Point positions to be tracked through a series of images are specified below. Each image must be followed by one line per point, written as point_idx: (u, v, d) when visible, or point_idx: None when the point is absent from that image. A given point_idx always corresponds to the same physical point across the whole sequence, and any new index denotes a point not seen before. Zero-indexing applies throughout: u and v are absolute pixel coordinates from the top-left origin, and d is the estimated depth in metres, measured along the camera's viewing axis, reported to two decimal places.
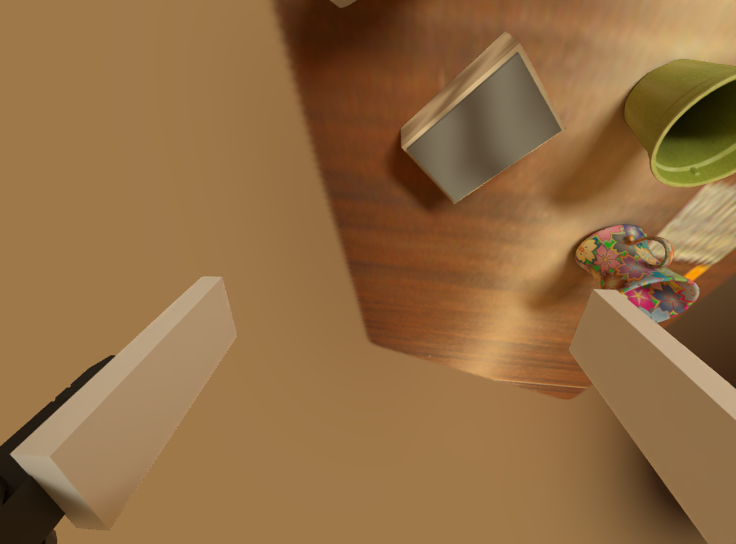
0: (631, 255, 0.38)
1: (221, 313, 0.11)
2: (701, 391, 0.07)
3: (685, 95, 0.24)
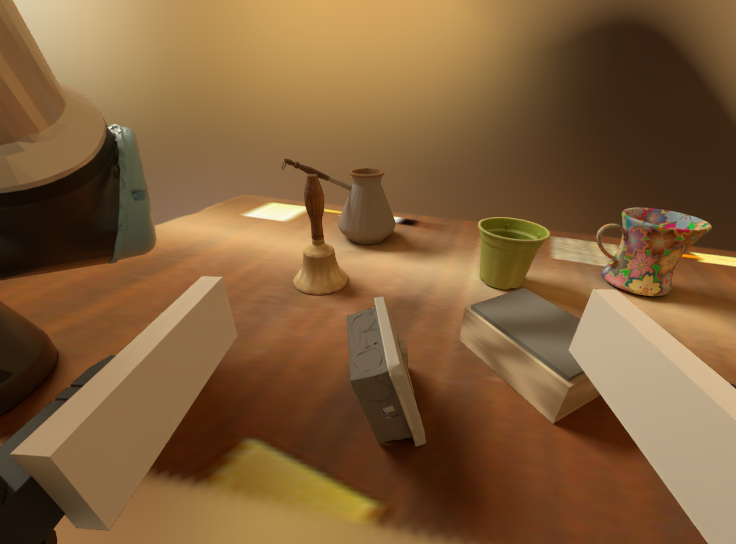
0: (625, 252, 0.45)
1: (221, 313, 0.11)
2: (701, 391, 0.07)
3: (494, 245, 0.43)
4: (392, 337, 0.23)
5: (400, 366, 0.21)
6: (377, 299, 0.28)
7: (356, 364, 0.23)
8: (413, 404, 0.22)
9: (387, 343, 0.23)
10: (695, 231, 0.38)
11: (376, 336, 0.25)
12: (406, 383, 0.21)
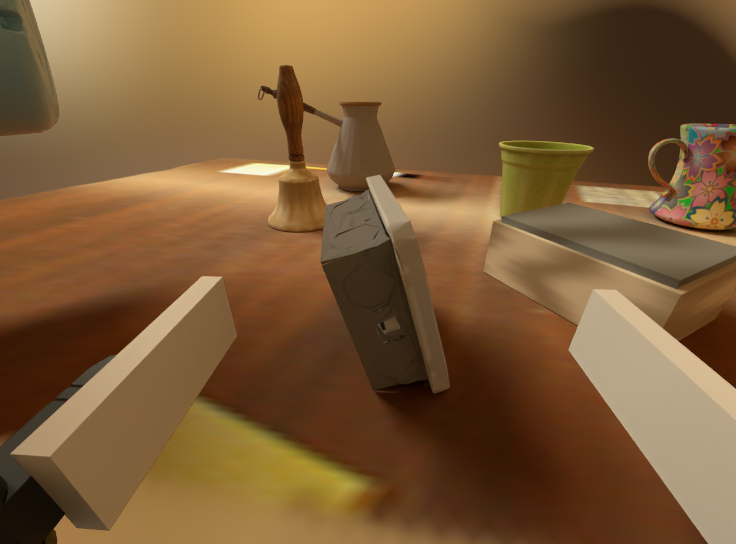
0: (685, 176, 0.35)
1: (221, 313, 0.11)
2: (701, 391, 0.07)
3: (522, 164, 0.33)
4: (395, 200, 0.14)
5: (411, 226, 0.11)
6: (371, 177, 0.18)
7: (333, 243, 0.13)
8: (432, 309, 0.13)
9: (387, 206, 0.13)
10: None
11: (368, 213, 0.15)
12: (422, 262, 0.12)
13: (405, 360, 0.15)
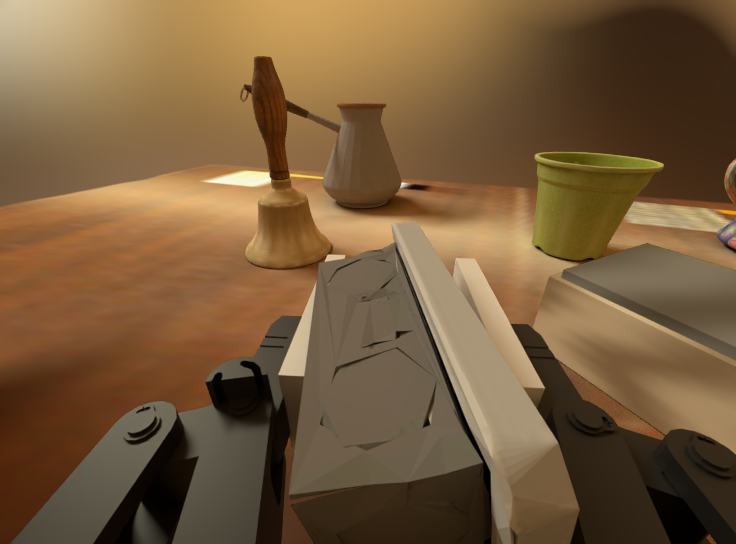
0: None
1: None
2: (483, 324, 0.09)
3: (569, 184, 0.26)
4: (472, 314, 0.06)
5: (558, 456, 0.04)
6: (401, 225, 0.11)
7: (326, 406, 0.06)
8: None
9: (459, 334, 0.06)
10: None
11: (402, 312, 0.08)
12: None
13: None
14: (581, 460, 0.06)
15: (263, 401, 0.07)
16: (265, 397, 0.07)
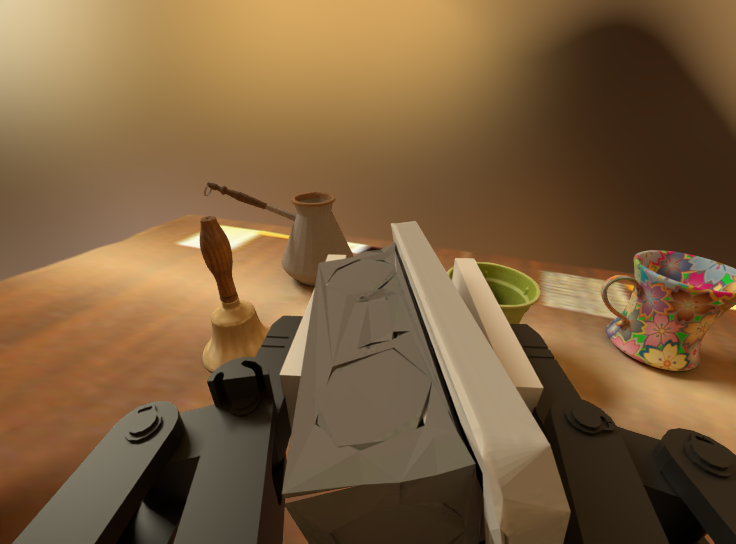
0: (639, 311, 0.34)
1: None
2: (482, 324, 0.09)
3: None
4: (468, 315, 0.06)
5: (550, 458, 0.04)
6: (401, 225, 0.11)
7: (321, 406, 0.06)
8: None
9: (454, 334, 0.06)
10: None
11: (399, 313, 0.08)
12: None
13: None
14: (579, 460, 0.06)
15: (265, 401, 0.07)
16: (267, 397, 0.07)
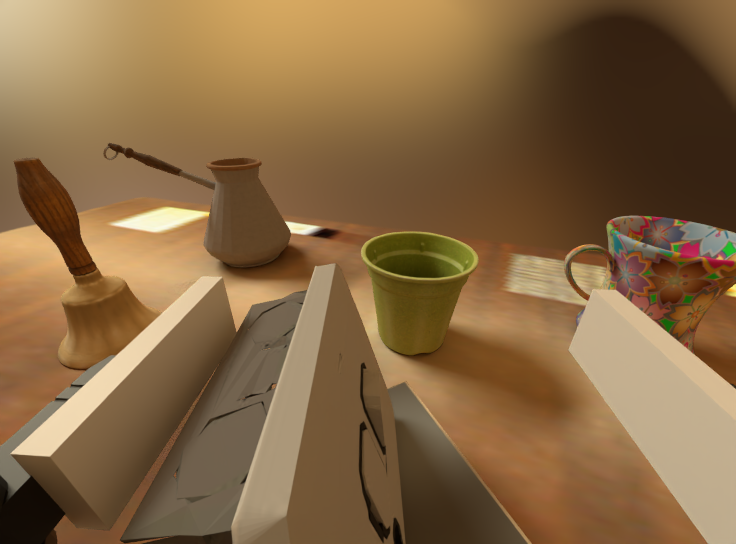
0: None
1: (221, 313, 0.11)
2: (701, 391, 0.07)
3: (380, 285, 0.24)
4: (311, 376, 0.07)
5: (292, 525, 0.05)
6: (319, 269, 0.12)
7: (183, 459, 0.07)
8: None
9: (285, 398, 0.06)
10: None
11: None
12: None
13: None
14: None
15: None
16: None
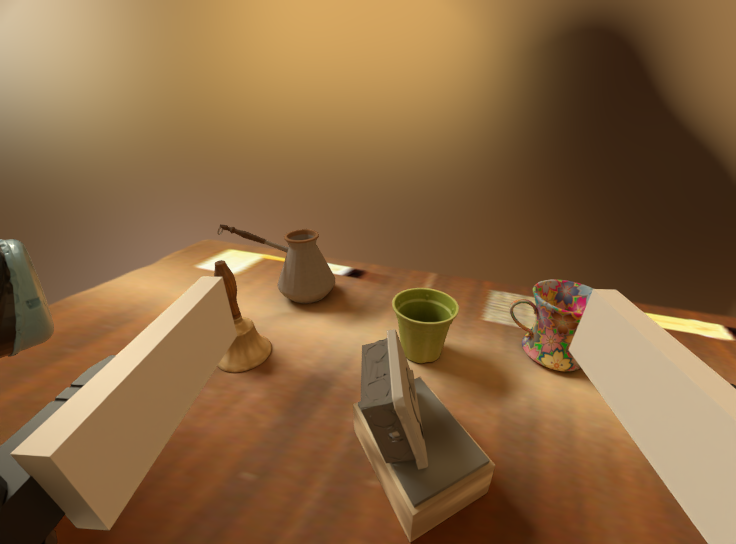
0: (537, 326, 0.45)
1: (221, 313, 0.11)
2: (701, 391, 0.07)
3: (404, 324, 0.44)
4: (399, 371, 0.26)
5: (403, 399, 0.24)
6: (389, 332, 0.31)
7: (366, 392, 0.26)
8: (415, 432, 0.25)
9: (394, 376, 0.26)
10: None
11: (386, 367, 0.28)
12: (408, 413, 0.24)
13: (403, 450, 0.27)
14: None
15: None
16: None
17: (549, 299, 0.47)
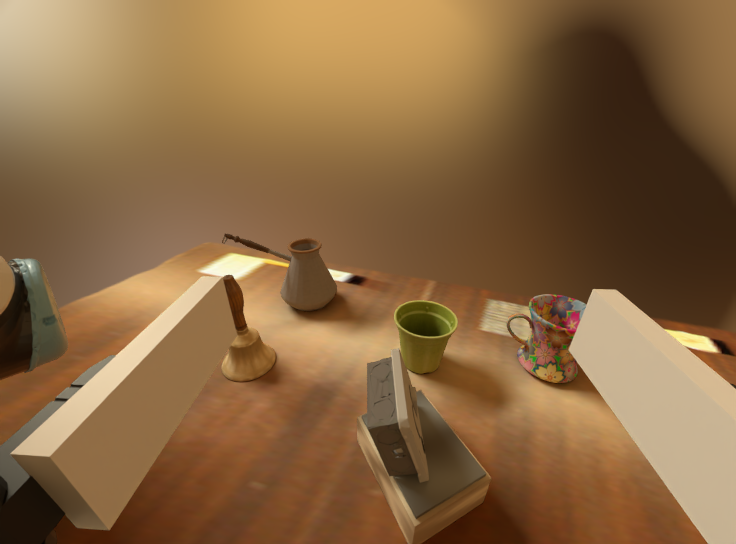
0: (533, 339, 0.47)
1: (221, 313, 0.11)
2: (701, 391, 0.07)
3: (405, 337, 0.45)
4: (403, 392, 0.28)
5: (408, 420, 0.26)
6: (393, 351, 0.33)
7: (372, 412, 0.28)
8: (418, 449, 0.27)
9: (399, 397, 0.28)
10: None
11: (390, 387, 0.30)
12: (412, 433, 0.26)
13: (406, 465, 0.29)
14: None
15: None
16: None
17: (544, 313, 0.49)
